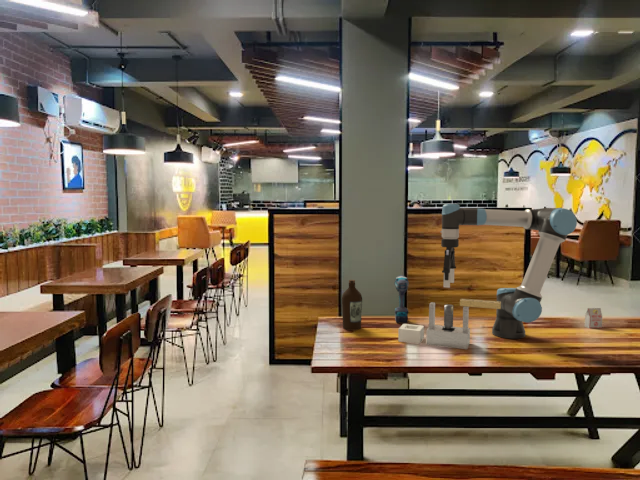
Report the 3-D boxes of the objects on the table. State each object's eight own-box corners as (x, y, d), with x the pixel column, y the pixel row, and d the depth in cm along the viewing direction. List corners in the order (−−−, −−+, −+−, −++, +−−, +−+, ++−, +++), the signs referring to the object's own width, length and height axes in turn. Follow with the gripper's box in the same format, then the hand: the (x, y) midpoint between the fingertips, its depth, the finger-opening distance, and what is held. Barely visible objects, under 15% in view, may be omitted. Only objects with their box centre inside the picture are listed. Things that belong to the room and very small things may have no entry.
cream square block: (423, 338, 224) (424, 325, 224) (419, 343, 215) (419, 331, 215) (403, 335, 228) (403, 323, 228) (398, 341, 219) (398, 328, 219)
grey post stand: (469, 343, 216) (470, 304, 215) (467, 349, 207) (468, 308, 206) (430, 338, 223) (430, 300, 222) (426, 344, 214) (426, 305, 213)
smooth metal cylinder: (453, 338, 216) (453, 304, 215) (452, 341, 212) (452, 306, 211) (444, 338, 218) (445, 304, 216) (443, 340, 214) (443, 305, 213)
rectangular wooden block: (500, 307, 207) (501, 301, 206) (500, 309, 203) (500, 303, 203) (460, 304, 213) (461, 298, 213) (459, 305, 210) (459, 300, 210)
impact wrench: (406, 316, 268) (406, 272, 266) (410, 326, 246) (410, 279, 244) (392, 315, 269) (392, 272, 267) (394, 326, 246) (395, 279, 244)
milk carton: (584, 326, 245) (585, 307, 244) (597, 326, 245) (598, 307, 245) (589, 328, 241) (590, 309, 240) (601, 327, 242) (602, 308, 241)
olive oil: (337, 326, 245) (337, 279, 243) (354, 324, 250) (355, 277, 248) (348, 331, 236) (348, 282, 234) (366, 328, 241) (366, 280, 239)
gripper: (445, 236, 224) (444, 280, 226) (436, 240, 201) (435, 288, 203) (462, 236, 221) (460, 281, 223) (454, 240, 198) (453, 290, 200)
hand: (448, 285), depth 213 cm, fingers open, 13 cm apart
